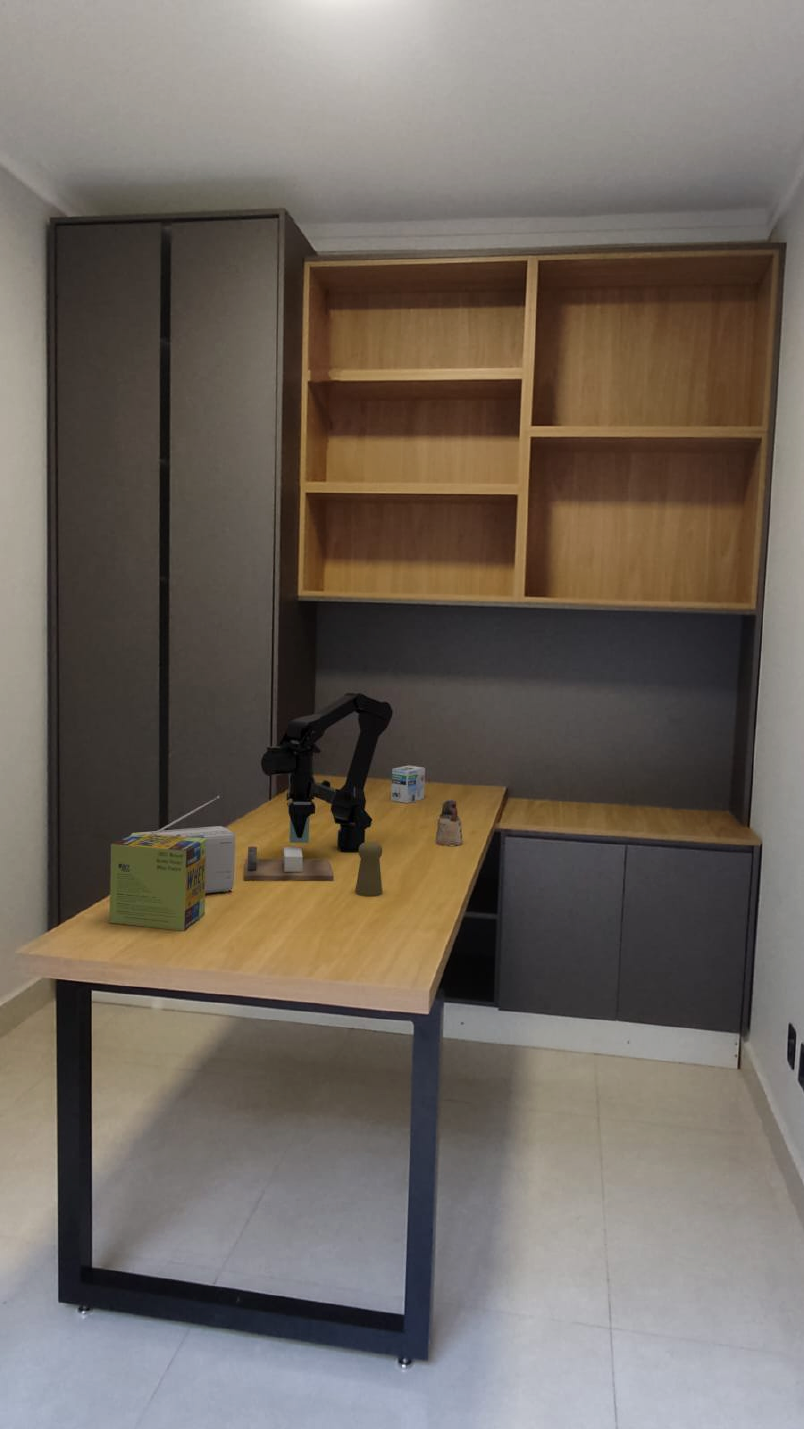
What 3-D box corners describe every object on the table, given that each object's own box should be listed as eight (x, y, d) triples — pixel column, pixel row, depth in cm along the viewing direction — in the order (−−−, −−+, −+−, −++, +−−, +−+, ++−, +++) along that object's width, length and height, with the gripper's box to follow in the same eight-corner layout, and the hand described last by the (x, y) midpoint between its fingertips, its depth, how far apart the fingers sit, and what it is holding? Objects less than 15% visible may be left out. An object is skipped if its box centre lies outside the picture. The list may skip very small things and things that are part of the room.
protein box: (185, 931, 177) (186, 850, 175) (108, 923, 179) (109, 843, 178) (206, 914, 187) (208, 837, 185) (133, 907, 190) (134, 831, 188)
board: (328, 864, 228) (329, 843, 228) (333, 880, 214) (334, 858, 214) (244, 864, 225) (245, 842, 224) (244, 880, 211) (244, 857, 211)
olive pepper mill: (384, 896, 204) (386, 846, 203) (356, 896, 203) (358, 846, 202) (380, 888, 210) (382, 839, 209) (353, 888, 209) (355, 839, 208)
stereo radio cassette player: (137, 905, 191) (138, 807, 189) (126, 893, 198) (128, 800, 196) (235, 893, 202) (237, 801, 200) (222, 883, 209) (224, 794, 207)
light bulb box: (407, 803, 306) (408, 770, 305) (390, 800, 310) (391, 768, 309) (424, 799, 315) (426, 767, 314) (407, 796, 319) (409, 764, 318)
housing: (300, 861, 224) (300, 846, 224) (302, 871, 216) (302, 856, 215) (283, 861, 224) (283, 846, 223) (284, 871, 215) (284, 856, 215)
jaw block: (307, 838, 233) (308, 814, 232) (308, 842, 228) (309, 818, 228) (289, 838, 232) (290, 814, 232) (290, 842, 228) (290, 818, 227)
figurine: (456, 839, 259) (458, 796, 258) (466, 845, 253) (468, 801, 251) (432, 840, 257) (433, 797, 256) (441, 846, 250) (443, 802, 249)
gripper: (337, 779, 221) (335, 845, 222) (331, 766, 239) (329, 827, 241) (289, 778, 219) (287, 844, 220) (287, 765, 237) (285, 826, 239)
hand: (299, 835), depth 230 cm, fingers closed on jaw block, 4 cm apart
